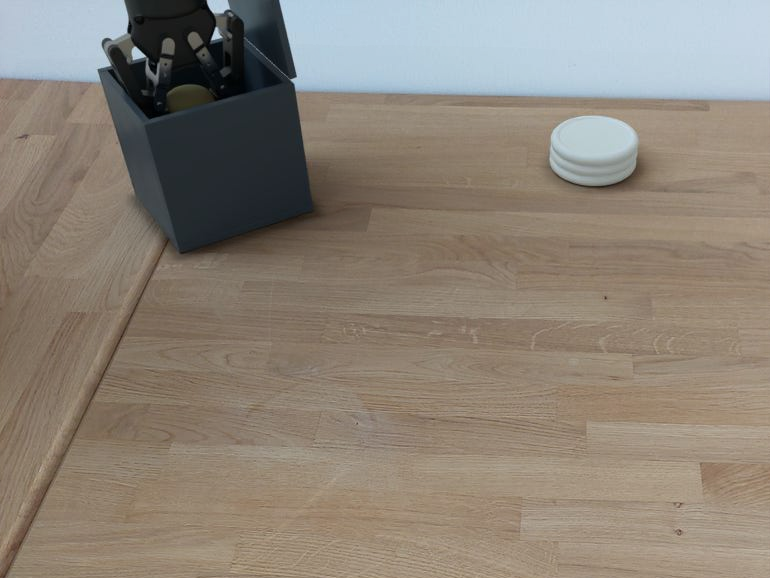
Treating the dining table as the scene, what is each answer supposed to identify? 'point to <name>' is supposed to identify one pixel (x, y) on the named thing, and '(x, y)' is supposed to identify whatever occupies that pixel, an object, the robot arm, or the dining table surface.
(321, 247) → the dining table surface
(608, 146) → the coaster
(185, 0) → the robot arm
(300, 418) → the dining table surface
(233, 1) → the lid
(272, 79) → the chest
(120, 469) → the dining table surface
